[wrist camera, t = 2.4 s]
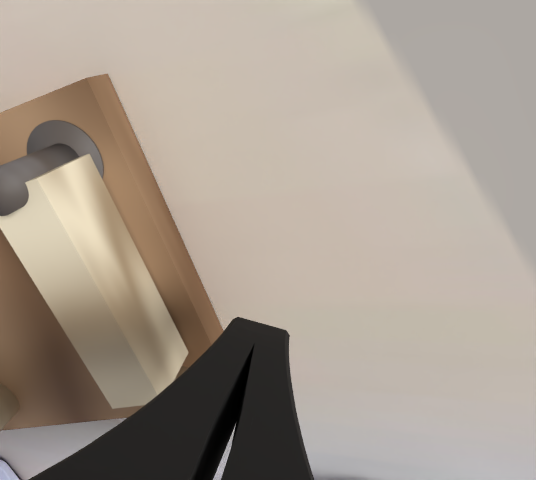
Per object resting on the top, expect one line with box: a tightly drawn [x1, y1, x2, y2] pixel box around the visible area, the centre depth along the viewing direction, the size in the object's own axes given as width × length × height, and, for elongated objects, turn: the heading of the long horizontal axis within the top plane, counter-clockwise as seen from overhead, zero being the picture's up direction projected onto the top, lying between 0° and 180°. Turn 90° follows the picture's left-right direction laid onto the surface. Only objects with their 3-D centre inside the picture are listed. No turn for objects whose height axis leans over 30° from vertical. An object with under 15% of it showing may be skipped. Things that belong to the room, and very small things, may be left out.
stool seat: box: [0, 74, 224, 431], centre depth 16 cm, size 14×13×4 cm
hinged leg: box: [0, 143, 189, 409], centre depth 14 cm, size 9×2×3 cm, turn 19°
